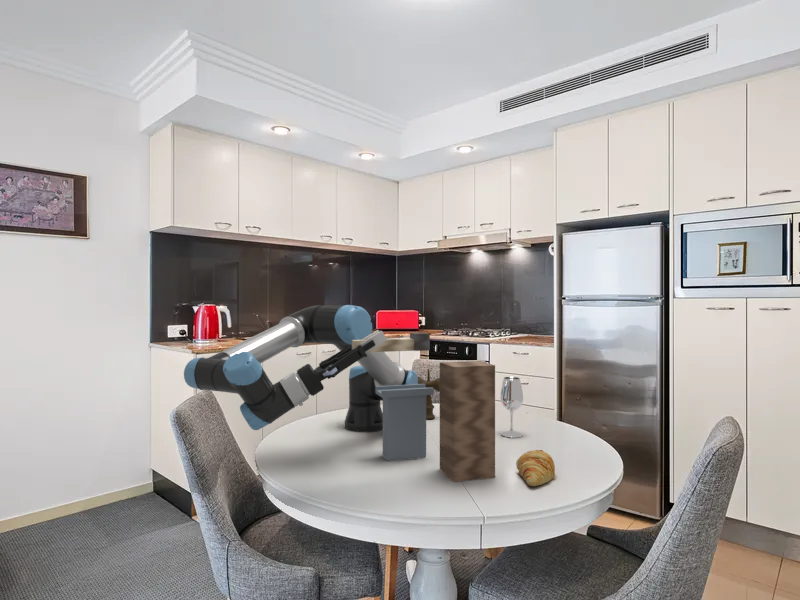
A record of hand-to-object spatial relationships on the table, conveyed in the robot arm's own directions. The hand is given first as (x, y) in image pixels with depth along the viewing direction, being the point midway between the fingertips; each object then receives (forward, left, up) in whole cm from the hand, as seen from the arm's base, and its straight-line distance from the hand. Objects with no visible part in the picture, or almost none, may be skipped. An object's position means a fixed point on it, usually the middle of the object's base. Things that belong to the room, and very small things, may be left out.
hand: (382, 334), depth 128 cm
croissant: (+41, +5, -39) cm, 57 cm away
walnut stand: (+23, +7, -39) cm, 45 cm away
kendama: (+18, +69, -39) cm, 81 cm away
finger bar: (+2, +1, -4) cm, 5 cm away
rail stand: (+7, +22, -39) cm, 45 cm away
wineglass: (+45, +44, -39) cm, 74 cm away
